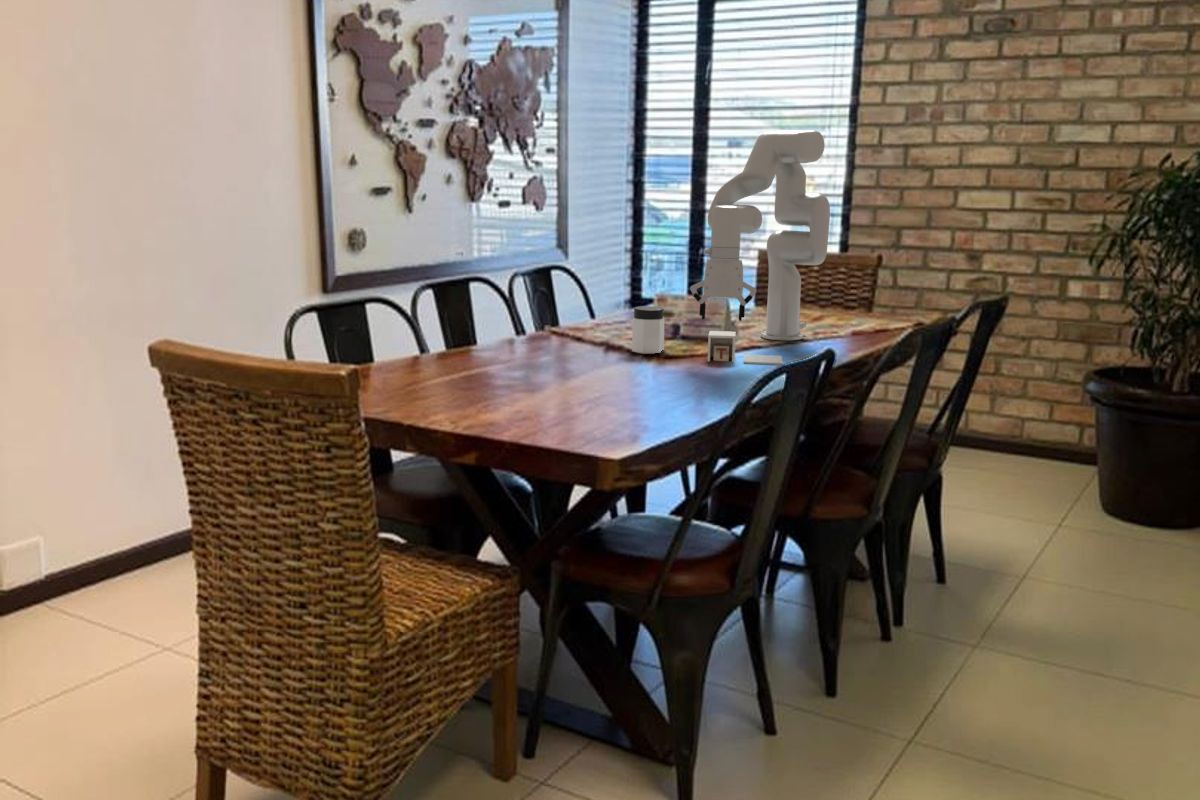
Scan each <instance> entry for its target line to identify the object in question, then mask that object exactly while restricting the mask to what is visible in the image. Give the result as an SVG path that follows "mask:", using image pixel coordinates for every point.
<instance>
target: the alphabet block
mask: <svg viewBox="0 0 1200 800" xmlns="http://www.w3.org/2000/svg"><path fill="white" fill-rule="evenodd" d="M736 336H737V332H736V331H729V330H728V331H727V330H726V331H724V330H723V331H721V330H709V333H708V338H707V362H710V361H711V358H714V343H717V344H730V345H729V359H731V363H735V359H736V358H735V357H736Z"/></svg>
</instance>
